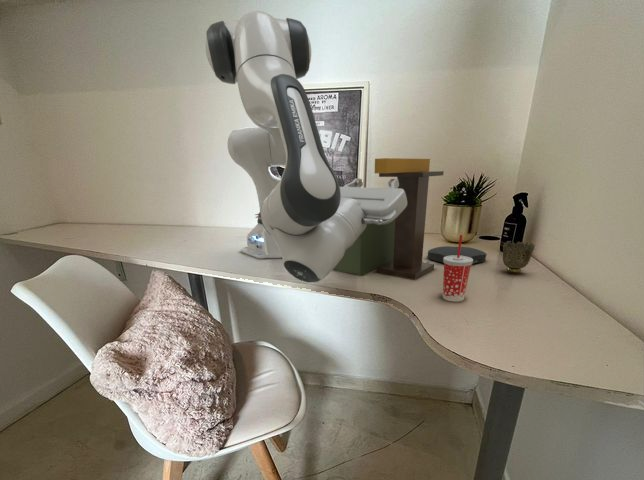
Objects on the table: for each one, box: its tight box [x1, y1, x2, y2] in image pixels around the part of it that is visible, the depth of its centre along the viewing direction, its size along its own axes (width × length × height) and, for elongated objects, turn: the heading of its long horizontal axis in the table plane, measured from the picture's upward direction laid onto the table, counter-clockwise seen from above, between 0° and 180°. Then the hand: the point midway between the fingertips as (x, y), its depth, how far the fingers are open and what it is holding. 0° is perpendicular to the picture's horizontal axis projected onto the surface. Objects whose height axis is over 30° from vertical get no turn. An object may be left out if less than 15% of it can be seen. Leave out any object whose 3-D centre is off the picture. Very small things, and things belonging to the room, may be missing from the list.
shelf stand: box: [376, 170, 444, 281], centre depth 90 cm, size 12×12×26 cm
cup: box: [502, 240, 536, 275], centre depth 90 cm, size 8×7×8 cm
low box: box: [332, 219, 395, 276], centre depth 98 cm, size 10×18×16 cm, turn 142°
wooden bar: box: [374, 157, 431, 174], centre depth 81 cm, size 3×22×3 cm, turn 142°
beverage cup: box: [442, 234, 473, 303], centre depth 72 cm, size 6×6×14 cm
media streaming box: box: [427, 245, 487, 265], centre depth 105 cm, size 15×15×3 cm
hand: (377, 181), depth 74 cm, fingers open, 8 cm apart
